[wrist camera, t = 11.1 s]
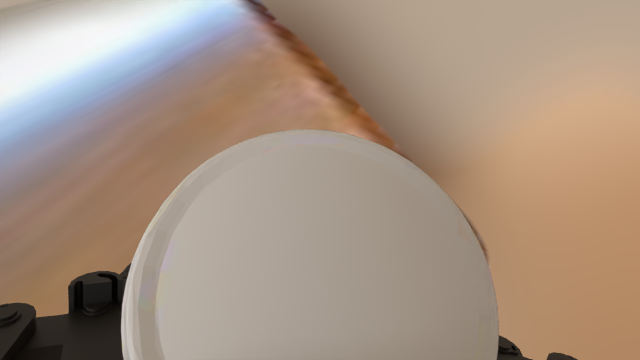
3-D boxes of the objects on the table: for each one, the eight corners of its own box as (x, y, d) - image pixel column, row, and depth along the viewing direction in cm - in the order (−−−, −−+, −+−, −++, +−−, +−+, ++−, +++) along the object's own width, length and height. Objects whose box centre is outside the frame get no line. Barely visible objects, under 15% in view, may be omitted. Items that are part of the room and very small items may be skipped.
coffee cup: (166, 305, 18) (48, 208, 8) (311, 222, 22) (360, 82, 12) (252, 494, 15) (244, 737, 5) (406, 359, 19) (587, 332, 8)
